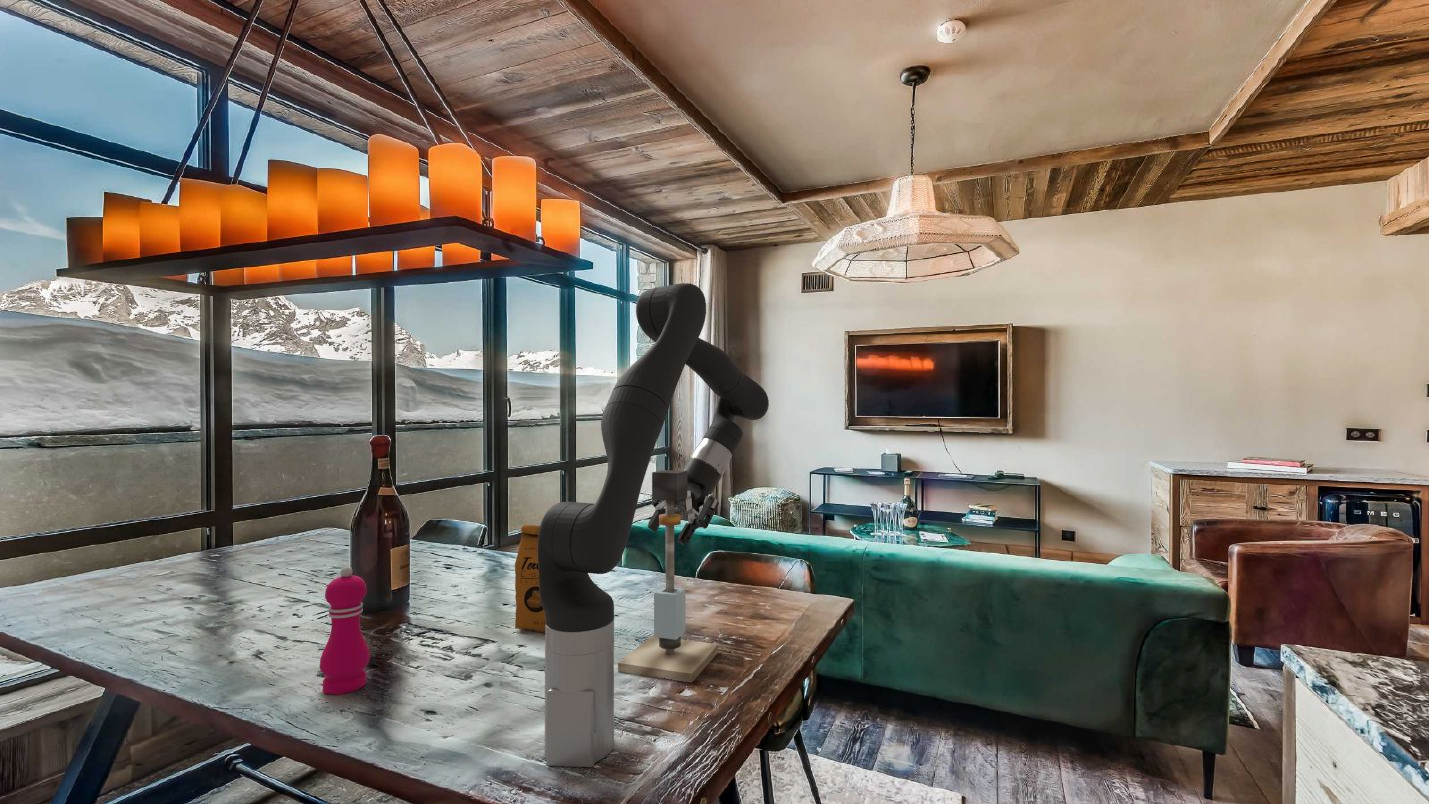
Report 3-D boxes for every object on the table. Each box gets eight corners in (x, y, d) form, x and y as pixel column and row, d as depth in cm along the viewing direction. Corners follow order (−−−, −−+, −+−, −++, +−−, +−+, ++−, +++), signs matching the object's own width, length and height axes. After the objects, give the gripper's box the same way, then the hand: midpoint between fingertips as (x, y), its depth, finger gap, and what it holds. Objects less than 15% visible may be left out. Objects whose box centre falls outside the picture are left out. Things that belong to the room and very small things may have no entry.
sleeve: (685, 631, 113) (685, 588, 113) (676, 639, 109) (676, 595, 109) (663, 629, 115) (663, 586, 115) (654, 636, 111) (654, 592, 111)
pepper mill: (359, 673, 107) (361, 559, 107) (376, 685, 102) (378, 566, 103) (312, 688, 101) (314, 567, 102) (328, 700, 97) (330, 574, 97)
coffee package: (559, 639, 123) (560, 530, 124) (507, 633, 127) (508, 527, 127) (584, 623, 133) (584, 522, 133) (535, 618, 136) (535, 520, 137)
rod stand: (718, 652, 116) (717, 469, 117) (691, 682, 103) (691, 476, 104) (651, 643, 121) (651, 467, 122) (618, 671, 107) (618, 473, 108)
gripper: (672, 449, 126) (631, 517, 120) (723, 464, 116) (680, 538, 110) (691, 467, 130) (652, 534, 125) (741, 483, 121) (701, 555, 115)
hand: (665, 536), depth 118 cm, fingers open, 8 cm apart
